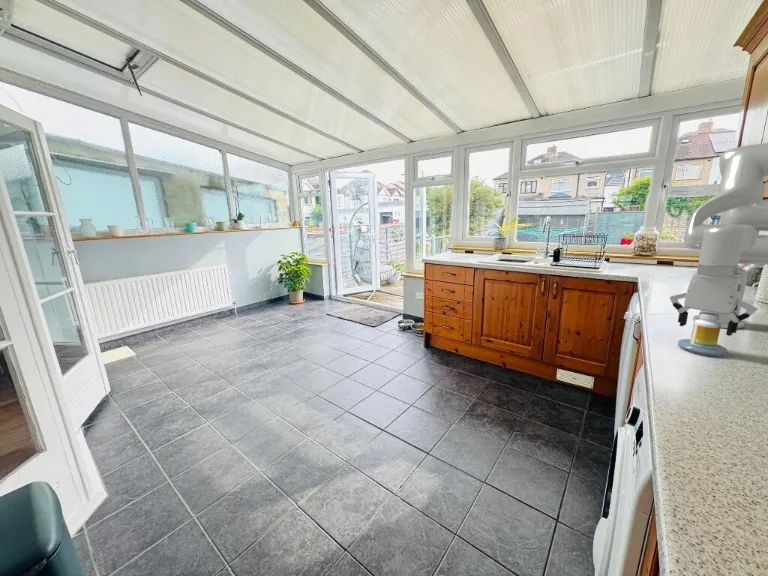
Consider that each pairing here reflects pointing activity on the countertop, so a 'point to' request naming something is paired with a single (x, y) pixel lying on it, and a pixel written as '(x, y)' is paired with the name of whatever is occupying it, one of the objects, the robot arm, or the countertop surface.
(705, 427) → the countertop surface
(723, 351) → the pale blue round plate
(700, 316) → the supplement bottle
